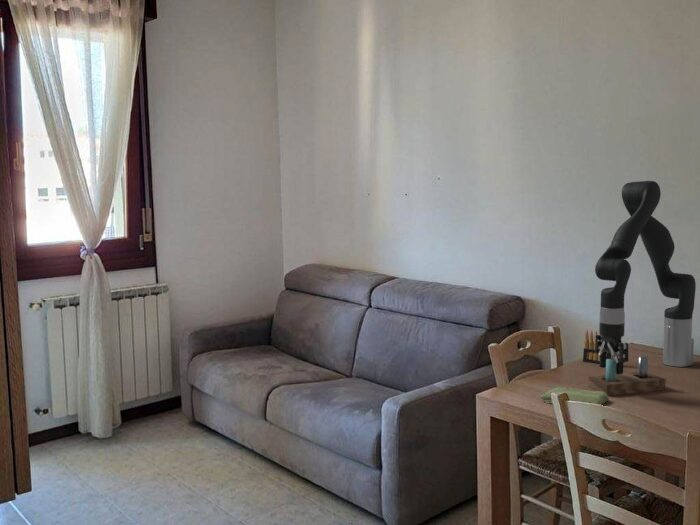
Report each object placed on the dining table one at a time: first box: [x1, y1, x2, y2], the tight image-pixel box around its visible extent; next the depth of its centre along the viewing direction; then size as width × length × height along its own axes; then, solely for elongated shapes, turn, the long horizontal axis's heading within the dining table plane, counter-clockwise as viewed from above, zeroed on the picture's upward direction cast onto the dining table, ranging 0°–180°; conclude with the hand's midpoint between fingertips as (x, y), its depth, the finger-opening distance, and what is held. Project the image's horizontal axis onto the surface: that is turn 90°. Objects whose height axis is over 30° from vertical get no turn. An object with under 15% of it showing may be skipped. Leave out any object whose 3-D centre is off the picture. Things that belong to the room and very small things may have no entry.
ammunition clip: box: [582, 329, 614, 365], centre depth 265 cm, size 11×2×12 cm, turn 48°
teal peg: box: [605, 358, 616, 382], centre depth 232 cm, size 3×3×10 cm
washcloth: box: [540, 387, 609, 405], centre depth 222 cm, size 13×18×3 cm
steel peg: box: [637, 355, 649, 379], centre depth 235 cm, size 3×3×10 cm
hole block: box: [587, 371, 667, 397], centre depth 234 cm, size 22×10×4 cm, turn 105°
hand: (611, 370), depth 232 cm, fingers open, 8 cm apart
